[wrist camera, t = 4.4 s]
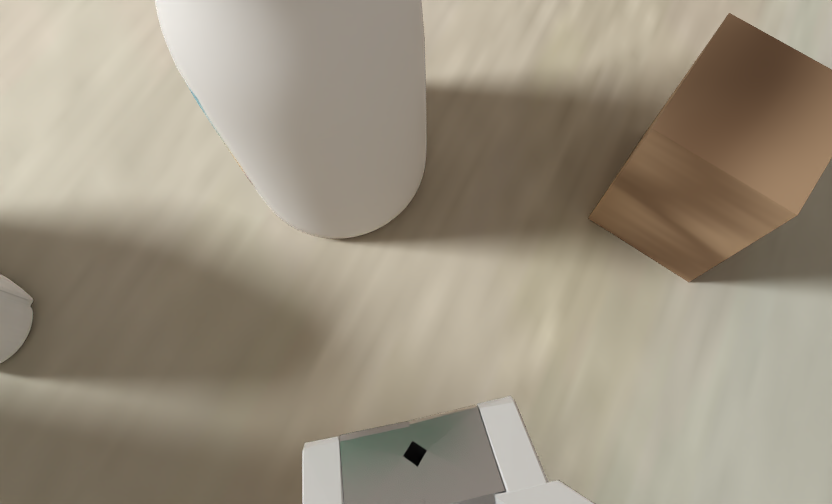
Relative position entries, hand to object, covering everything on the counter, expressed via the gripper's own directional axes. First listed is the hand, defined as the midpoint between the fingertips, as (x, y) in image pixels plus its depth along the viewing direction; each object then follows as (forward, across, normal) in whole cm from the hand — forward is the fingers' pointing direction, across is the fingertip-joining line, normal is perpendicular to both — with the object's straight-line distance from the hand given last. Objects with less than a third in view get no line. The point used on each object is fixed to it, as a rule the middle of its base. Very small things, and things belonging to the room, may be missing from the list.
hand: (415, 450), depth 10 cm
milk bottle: (+22, +1, +4) cm, 23 cm away
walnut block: (+18, -13, +8) cm, 24 cm away
